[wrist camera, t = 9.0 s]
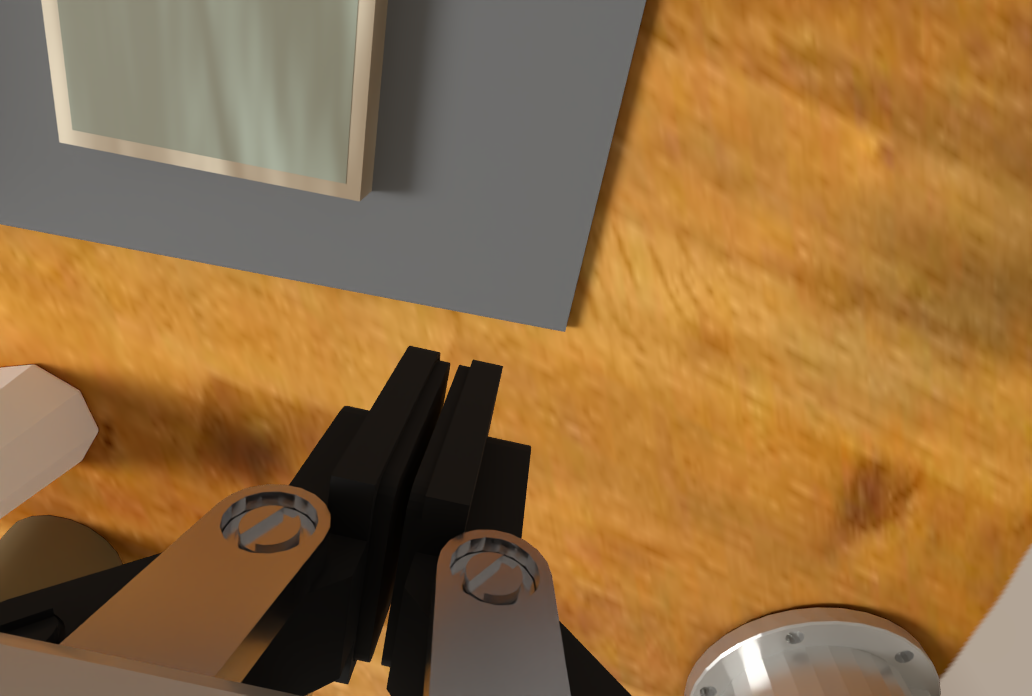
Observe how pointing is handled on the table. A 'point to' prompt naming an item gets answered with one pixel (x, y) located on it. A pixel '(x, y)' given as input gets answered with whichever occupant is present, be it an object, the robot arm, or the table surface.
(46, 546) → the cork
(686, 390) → the table surface
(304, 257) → the rubber mat
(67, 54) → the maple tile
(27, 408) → the salt shaker
